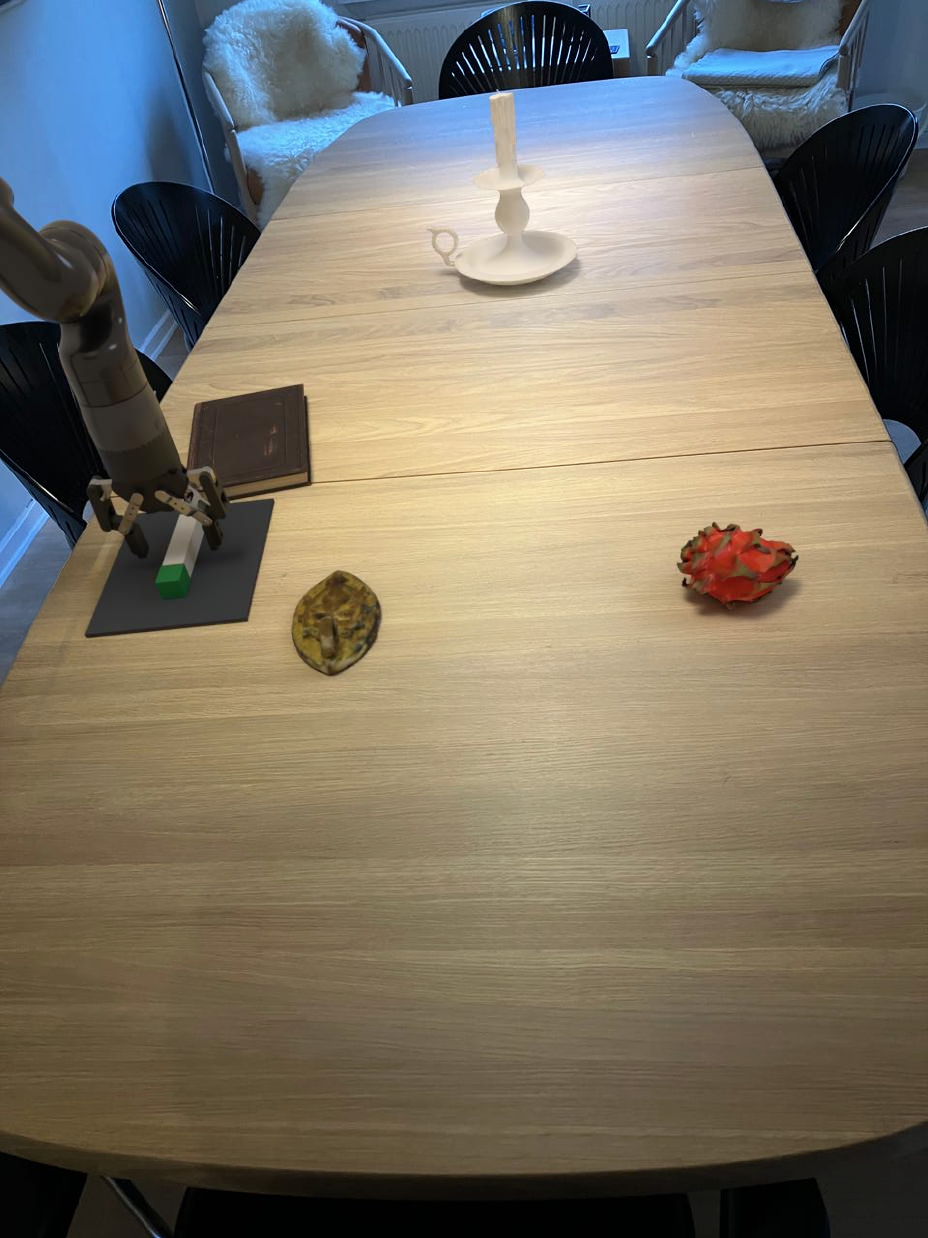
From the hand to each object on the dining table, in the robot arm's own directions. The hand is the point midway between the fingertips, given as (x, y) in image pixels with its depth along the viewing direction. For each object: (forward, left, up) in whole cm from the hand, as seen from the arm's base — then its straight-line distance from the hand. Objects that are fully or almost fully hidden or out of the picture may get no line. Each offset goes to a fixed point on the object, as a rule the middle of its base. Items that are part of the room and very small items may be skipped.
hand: (180, 550), depth 106 cm
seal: (+19, -13, -2) cm, 23 cm away
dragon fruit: (+60, -14, -2) cm, 62 cm away
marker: (0, 0, -2) cm, 2 cm away
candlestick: (+41, +71, -2) cm, 82 cm away
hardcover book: (+4, +24, -2) cm, 24 cm away
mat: (0, 0, -2) cm, 2 cm away
